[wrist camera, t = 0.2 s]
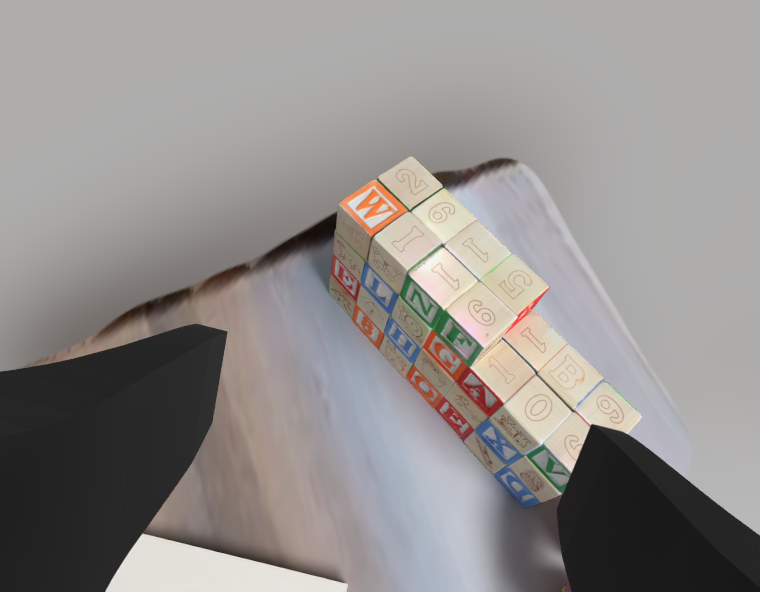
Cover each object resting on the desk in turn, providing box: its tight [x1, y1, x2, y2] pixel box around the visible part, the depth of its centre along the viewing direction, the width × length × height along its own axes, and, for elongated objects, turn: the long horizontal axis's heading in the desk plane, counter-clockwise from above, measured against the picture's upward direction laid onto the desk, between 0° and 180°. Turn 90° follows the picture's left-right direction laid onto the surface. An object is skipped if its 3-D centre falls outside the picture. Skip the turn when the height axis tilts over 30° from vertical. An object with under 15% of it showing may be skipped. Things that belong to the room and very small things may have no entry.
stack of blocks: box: [329, 156, 642, 508], centre depth 41 cm, size 21×6×12 cm, turn 42°
